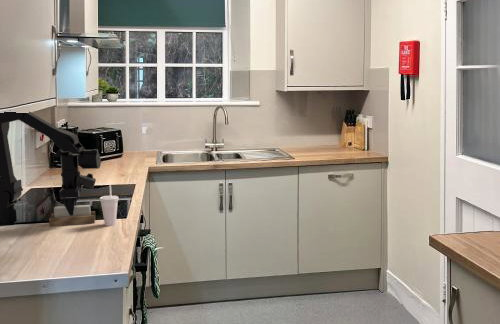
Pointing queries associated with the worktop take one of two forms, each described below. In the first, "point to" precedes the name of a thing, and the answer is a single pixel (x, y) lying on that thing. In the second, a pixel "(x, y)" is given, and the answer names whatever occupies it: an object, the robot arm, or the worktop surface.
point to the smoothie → (109, 208)
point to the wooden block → (72, 220)
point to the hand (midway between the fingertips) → (72, 212)
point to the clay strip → (78, 211)
